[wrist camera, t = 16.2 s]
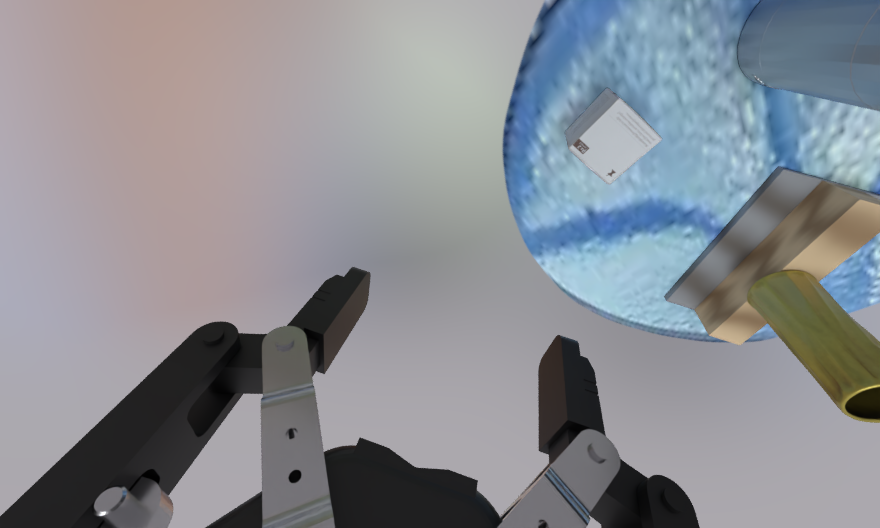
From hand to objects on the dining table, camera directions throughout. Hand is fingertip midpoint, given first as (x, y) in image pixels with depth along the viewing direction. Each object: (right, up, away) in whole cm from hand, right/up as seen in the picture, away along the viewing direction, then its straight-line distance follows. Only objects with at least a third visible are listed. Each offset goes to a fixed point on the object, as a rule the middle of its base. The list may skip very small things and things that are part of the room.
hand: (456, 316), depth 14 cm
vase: (+38, -1, +24) cm, 45 cm away
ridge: (+40, +3, +27) cm, 49 cm away
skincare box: (+18, +18, +24) cm, 35 cm away
